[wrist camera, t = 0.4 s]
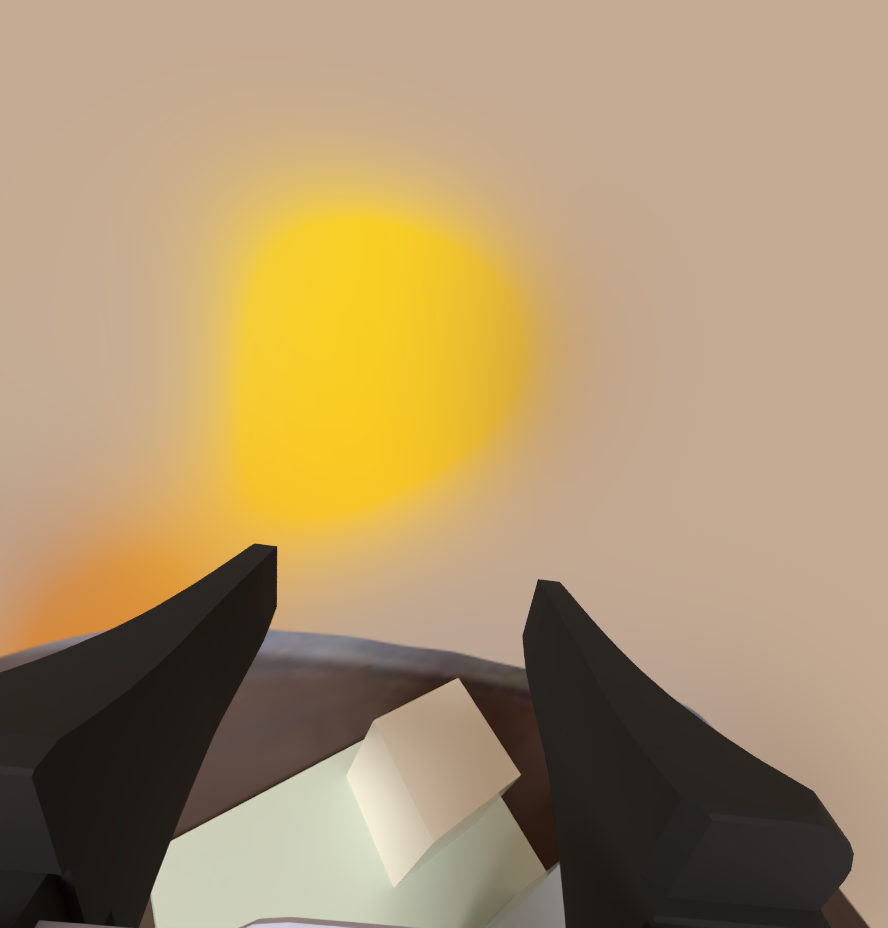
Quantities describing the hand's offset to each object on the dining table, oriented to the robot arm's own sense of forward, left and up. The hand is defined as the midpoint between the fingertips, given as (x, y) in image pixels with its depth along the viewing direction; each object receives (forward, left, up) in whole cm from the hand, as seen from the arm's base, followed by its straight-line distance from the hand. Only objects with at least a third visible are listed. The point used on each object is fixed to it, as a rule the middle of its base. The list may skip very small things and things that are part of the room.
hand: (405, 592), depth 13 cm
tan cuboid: (+3, -6, -19) cm, 20 cm away
